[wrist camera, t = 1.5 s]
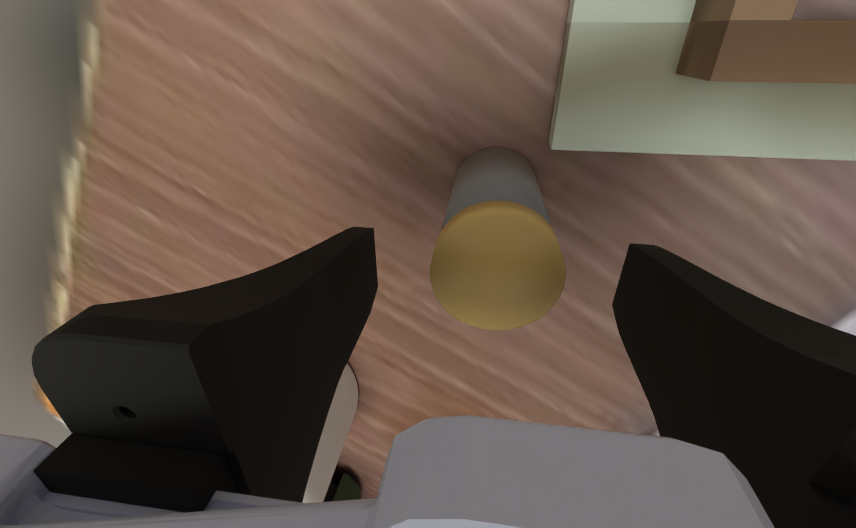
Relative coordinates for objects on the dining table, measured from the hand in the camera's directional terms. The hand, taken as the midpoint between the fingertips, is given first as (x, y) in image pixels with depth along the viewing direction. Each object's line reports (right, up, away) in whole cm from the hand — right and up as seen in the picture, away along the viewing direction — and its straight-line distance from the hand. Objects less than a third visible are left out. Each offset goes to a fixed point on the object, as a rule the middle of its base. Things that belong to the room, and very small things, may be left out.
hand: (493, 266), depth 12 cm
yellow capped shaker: (+1, +3, +6) cm, 7 cm away
